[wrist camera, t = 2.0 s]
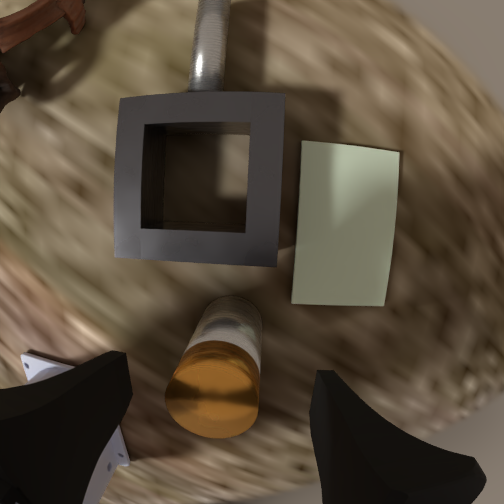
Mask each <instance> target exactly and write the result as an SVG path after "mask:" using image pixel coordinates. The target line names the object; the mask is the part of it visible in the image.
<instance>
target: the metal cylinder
mask: <svg viewBox="0 0 504 504" xmlns="http://www.w3.org/2000/svg"><path fill="white" fill-rule="evenodd" d="M261 342H262V318H261V315H260V313H259V311H258V309H257V308H256V307H255V306H254V305H253V304H252V303H251V302H249V301H248V300H246V299H244V298H241V297H238V296H224V297H220V298H218V299H216V300H214V301H213V302H211V303H210V304H209V305H208V307H207V308H206V310H205V312H204V314H203V316H202V318H201V320H200V322H199V324H198V326H197V328H196V330H195V332H194V334H193V336H192V338H191V340H190V342H189V344H188V346H187V348H186V350H185V352H184V354H183V356H182V358H181V360H180V362H179V364H178V366H177V368H176V370H175V372H174V374H173V376H172V378H171V380H170V382H169V384H168V386H167V389H166V392H165V402H166V406H167V409H168V411H169V413H170V414H171V416H172V417H173V418H174V420H175V421H176V422H177V423H179V424H180V425H181V426H182V427H184V428H185V429H187V430H189V431H190V432H193V433H195V434H197V435H200V436H204V437H209V438H229V437H233V436H236V435H239V434H241V433H243V432H245V431H246V430H248V429H249V428H250V427H251V426H252V425H253V423H254V422H255V420H256V418H257V415H258V405H259V385H260V364H261Z"/></svg>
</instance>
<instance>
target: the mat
mask: <svg viewBox="0 0 504 504" xmlns="http://www.w3.org/2000/svg"><path fill="white" fill-rule="evenodd" d="M398 177H399V152H394V151H388V150H381V149H374V148H367V147H360V146H352V145H343V144H334V143H325V142H314V141H301V160H300V181H299V199H298V216H297V232H296V246H295V259H294V272H293V284H292V296H291V303H292V304H312V305H345V306H384V302H385V296H386V290H387V284H388V278H389V271H390V264H391V257H392V249H393V240H394V231H395V220H396V209H397V195H398Z"/></svg>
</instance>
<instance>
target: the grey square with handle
mask: <svg viewBox="0 0 504 504" xmlns="http://www.w3.org/2000/svg"><path fill="white" fill-rule="evenodd" d="M230 4H231V0H199V2H198V9H197V16H196V23H195V30H194V38H193V46H192V55H191V64H190V73H189V83H188V92H187V93H170V94H157V95H146V96H136V97H128V98H120V105H119V114H118V125H117V137H116V151H115V171H114V248H115V257H119V258H133V259H148V260H163V261H178V262H194V263H211V264H227V265H245V266H263V267H277V254H278V238H279V221H280V203H281V184H282V163H283V140H284V114H285V93H270V92H223V86H224V72H225V60H226V47H227V36H228V25H229V14H230ZM183 134H238V135H250V146H249V167H248V189H247V211H246V224H226V223H203V222H177V221H163V194H164V166H165V147H166V135H183Z"/></svg>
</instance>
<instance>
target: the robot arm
mask: <svg viewBox="0 0 504 504" xmlns="http://www.w3.org/2000/svg"><path fill="white" fill-rule="evenodd" d="M21 360H22V363H23V366H24V370H25V373H26V376H27V379H28V382H27V383H26V384H25V385H23V386H17V387H12V388H6V389H0V504H98V503H99V501H100V499H101V497H102V495H103V493H104V491H105V489H106V487H107V485H108V483H109V481H110V479H111V477H112V475H113V473H114V471H115V469H116V467H117V465H118V464H119V465H123V466H129V464H130V459H129V456H128V453H127V450H126V446H125V443H124V440H123V436H122V433H121V429H120V426H119V423H120V422H121V420H122V418H123V417H124V415H125V413H126V410H127V408H128V406H129V403H130V400H131V398H132V395H133V392H132V387H131V381H130V375H129V369H128V363H127V356H126V353H124V352H118V351H113V350H112V351H110V352H107V353H105V354H102V355H100V356H98V357H96V358H94V359H92V360H89V361H87V362H85V363H83V364H81V365H79V366H77V367H74V366H70V365H66V364H63V363H59V362H56V361H52V360H49V359H46V358H42V357H39V356H36V355H33V354H30V353H27V352H24V353H23V354H21ZM309 414H310V429H311V437H312V442H313V447H314V452H315V457H316V461H317V466H318V471H319V476H320V481H321V488H322V502H323V504H471V503H472V502H473V501H474V500H475V499H476V498H477V496H478V495H479V494H480V493H481V491H482V490H483V488H484V486H485V483H486V476H485V474H484V472H483V471H482V469H481V467H480V466H479V464H478V463H477V461H476V460H475V458H474V457H470V456H466V455H462V454H458V453H454V452H450V451H447V450H444V449H441V448H438V447H436V446H433V445H431V444H428V443H426V442H424V441H422V440H420V439H418V438H416V437H414V436H412V435H410V434H408V433H406V432H404V431H403V430H401V429H399V428H398V427H396V426H395V425H393V424H392V423H390V422H389V421H387V420H386V419H384V418H383V417H382V416H380V415H379V414H378V413H377V412H375V411H374V410H373V409H372V408H371V407H369V406H368V405H367V404H366V403H365V402H364V401H363V400H362V399H361V398H360V397H359V396H358V395H357V394H356V393H355V392H354V391H353V390H352V389H351V388H350V387H349V386H348V385H347V384H346V383H345V382H344V381H343V380H342V379H341V378H340V377H339V376H338V375H337V374H336V372H335V371H334V370H317V374H316V379H315V385H314V390H313V396H312V401H311V406H310V411H309Z"/></svg>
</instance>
